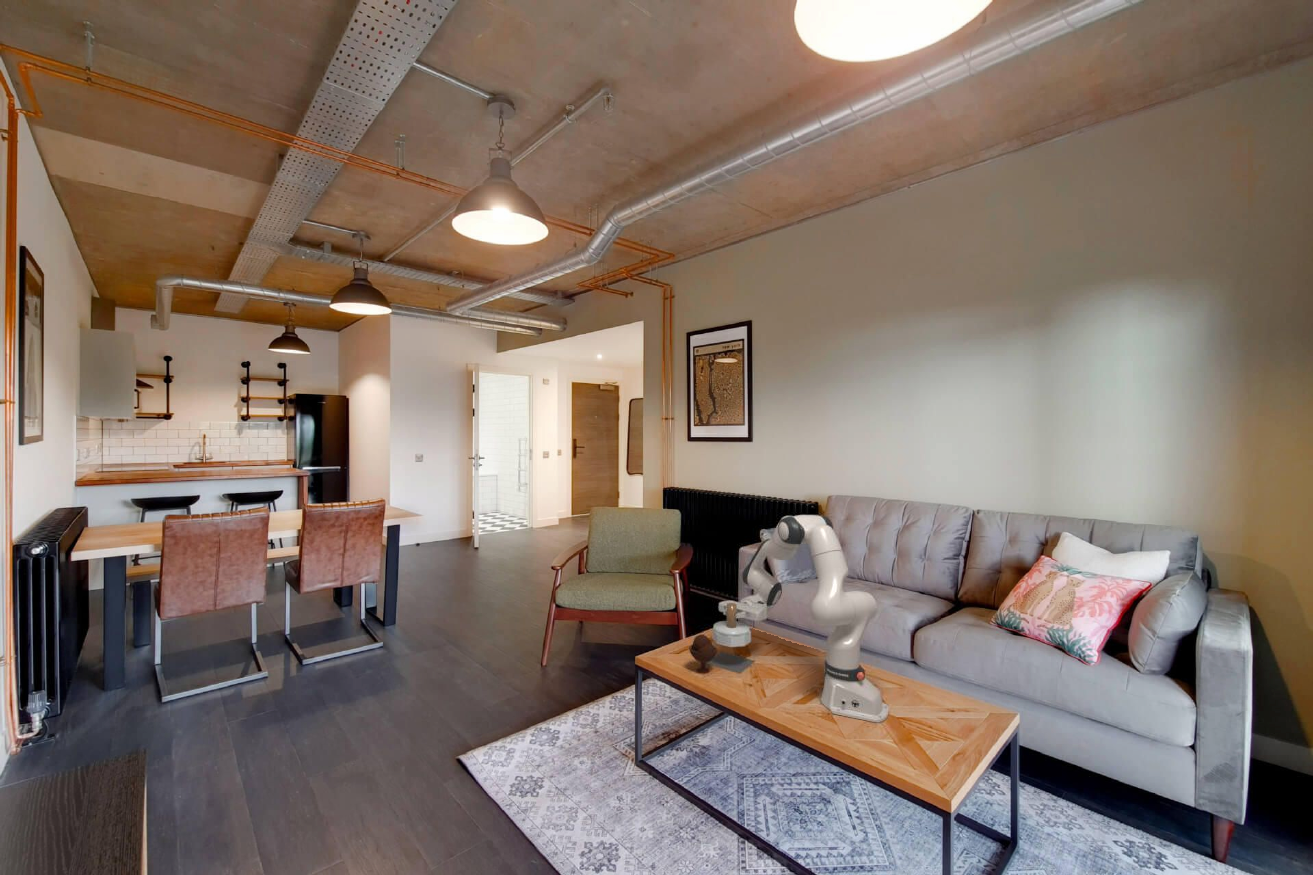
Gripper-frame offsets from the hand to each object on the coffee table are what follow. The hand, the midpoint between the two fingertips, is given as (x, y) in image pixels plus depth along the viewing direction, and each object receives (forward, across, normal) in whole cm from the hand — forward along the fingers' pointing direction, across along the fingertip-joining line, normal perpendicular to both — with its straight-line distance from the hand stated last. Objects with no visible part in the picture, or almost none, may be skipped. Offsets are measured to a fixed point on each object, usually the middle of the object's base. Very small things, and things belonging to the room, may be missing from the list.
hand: (730, 614), depth 229 cm
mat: (-1, -1, +20) cm, 20 cm away
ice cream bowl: (+14, -3, +20) cm, 25 cm away
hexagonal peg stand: (-1, 0, +11) cm, 11 cm away
